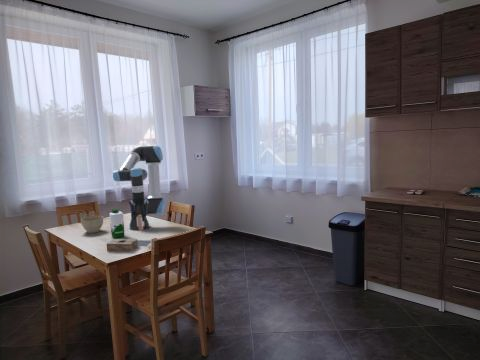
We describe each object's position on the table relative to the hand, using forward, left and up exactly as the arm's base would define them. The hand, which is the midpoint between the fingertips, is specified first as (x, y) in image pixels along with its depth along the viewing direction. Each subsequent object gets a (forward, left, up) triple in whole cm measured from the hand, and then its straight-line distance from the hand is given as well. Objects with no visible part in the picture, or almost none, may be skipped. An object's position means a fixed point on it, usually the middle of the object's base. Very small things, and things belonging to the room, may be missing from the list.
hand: (140, 225), depth 225 cm
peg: (0, 0, -3) cm, 3 cm away
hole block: (+12, -8, -12) cm, 19 cm away
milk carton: (-13, -25, -13) cm, 31 cm away
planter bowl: (-26, -53, -13) cm, 61 cm away
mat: (+1, 0, -12) cm, 12 cm away
